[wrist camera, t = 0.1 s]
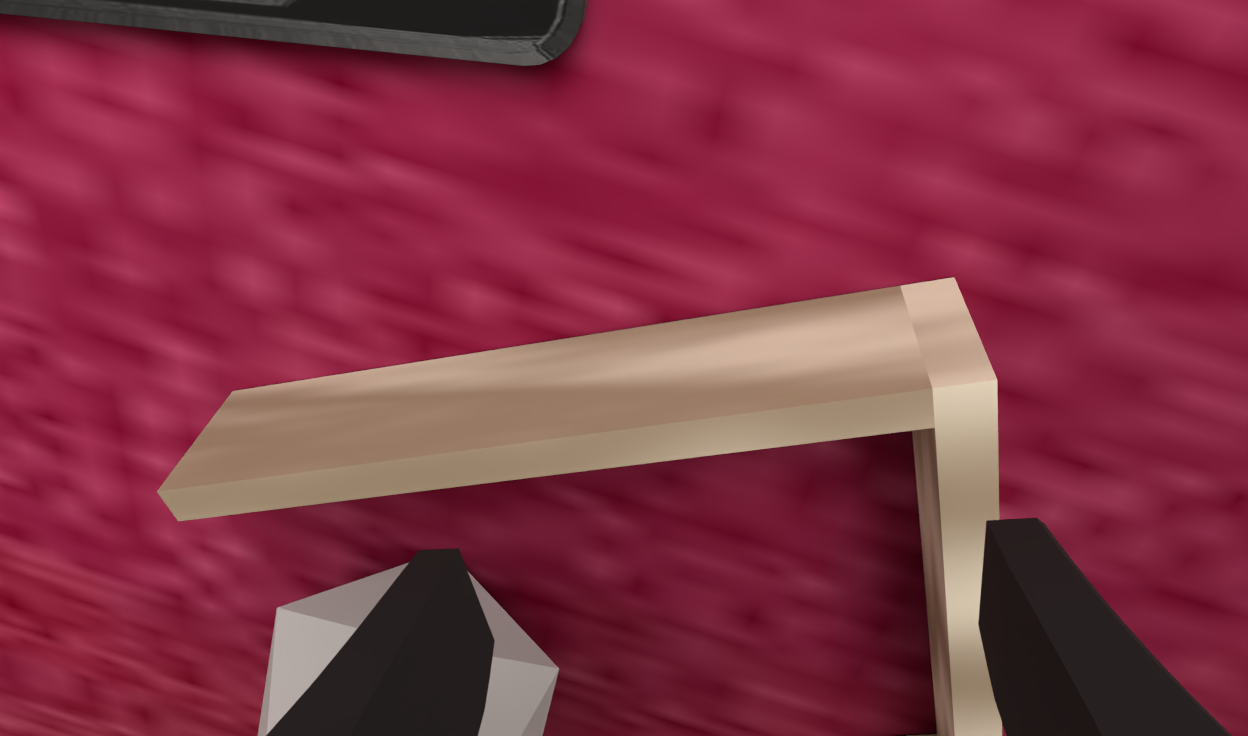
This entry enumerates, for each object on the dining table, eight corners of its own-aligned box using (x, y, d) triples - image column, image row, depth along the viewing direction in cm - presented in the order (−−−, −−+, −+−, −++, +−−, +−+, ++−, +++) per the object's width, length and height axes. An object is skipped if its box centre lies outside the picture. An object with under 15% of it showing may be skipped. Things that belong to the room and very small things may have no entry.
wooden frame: (974, 748, 31) (1004, 868, 27) (465, 773, 35) (438, 880, 32) (954, 277, 20) (997, 379, 17) (232, 391, 24) (157, 491, 21)
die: (458, 702, 33) (575, 917, 26) (207, 743, 28) (258, 1021, 21) (501, 506, 31) (643, 675, 23) (238, 514, 26) (308, 730, 19)
